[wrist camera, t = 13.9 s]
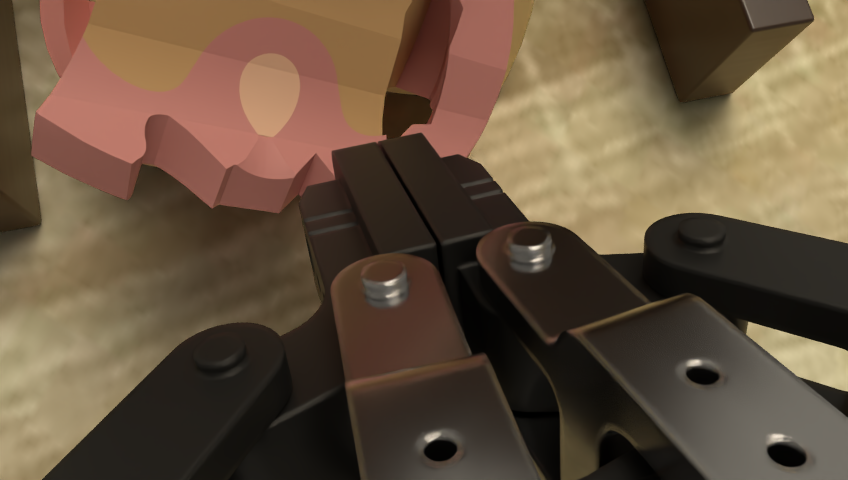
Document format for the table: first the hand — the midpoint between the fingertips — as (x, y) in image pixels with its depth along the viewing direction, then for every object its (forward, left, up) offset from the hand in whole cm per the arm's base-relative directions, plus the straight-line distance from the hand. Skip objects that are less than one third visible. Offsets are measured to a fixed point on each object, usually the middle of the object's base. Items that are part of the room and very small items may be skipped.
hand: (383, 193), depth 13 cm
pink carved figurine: (0, -4, -5) cm, 6 cm away
